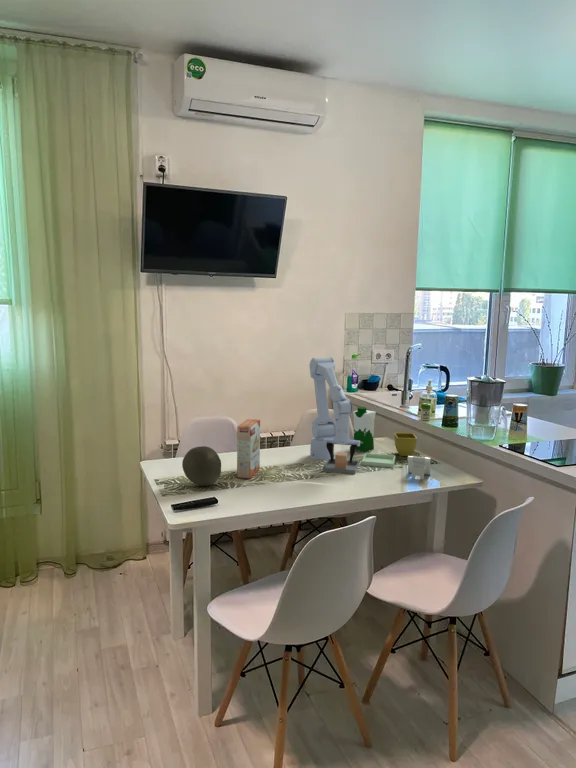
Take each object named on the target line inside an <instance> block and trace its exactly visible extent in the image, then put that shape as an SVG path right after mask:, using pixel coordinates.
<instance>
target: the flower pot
mask: <svg viewBox="0 0 576 768" xmlns="http://www.w3.org/2000/svg"><path fill="white" fill-rule="evenodd" d="M393 435H394V446H395V449H396V452H397V453H398V456H400V457H408V456H413V454H414V453H415V450H416V446H417V442H418V440H417V439H418V437H417V436H416V435H415V434H414V432H412V433H411V432H408V433H407V432H394V433H393Z"/></svg>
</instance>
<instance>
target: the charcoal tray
mask: <svg viewBox="0 0 576 768" xmlns="http://www.w3.org/2000/svg"><path fill="white" fill-rule="evenodd" d="M359 466H360V460H352V463H350V459H348V467H347V469H338V468H335V458H334V461H333V462H331V459H328V460H326V462H325V464H324V465H323V467H322V472H326V473H327V472H328V473H334V474H335V473H336V474H346V475H347V474H349V475H355V474H356V473H357V471H358V469H359Z"/></svg>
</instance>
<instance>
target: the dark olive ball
mask: <svg viewBox="0 0 576 768" xmlns="http://www.w3.org/2000/svg"><path fill="white" fill-rule="evenodd" d="M182 471H183V473H184V475H185V476H186V478H187V479H188V480H189V481H190V482H192V483H193V484H195V485H197V486H202V487H207V486H211V485H213V484H215V483H216V482H217V481H218V480H219V479H220V478H221V477H220V476H221V474H222V461H221V459H220V456H219V454H218V453H217V452H216V451H215V450H214V449H213V448H211V447H210V446H206V445H204V446H196V447H192V448H191V449H189V450H188V451H187V452H186V454H185V455H184V456H183V459H182Z"/></svg>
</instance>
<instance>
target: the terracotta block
mask: <svg viewBox="0 0 576 768" xmlns="http://www.w3.org/2000/svg"><path fill="white" fill-rule="evenodd" d="M334 459H335V468H338V469H347V467H348V460H349V453H348V452H342V451H340V452H339V451H337V452H336V453H335V454H334Z"/></svg>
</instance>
